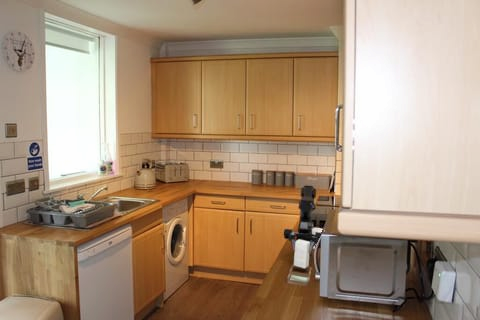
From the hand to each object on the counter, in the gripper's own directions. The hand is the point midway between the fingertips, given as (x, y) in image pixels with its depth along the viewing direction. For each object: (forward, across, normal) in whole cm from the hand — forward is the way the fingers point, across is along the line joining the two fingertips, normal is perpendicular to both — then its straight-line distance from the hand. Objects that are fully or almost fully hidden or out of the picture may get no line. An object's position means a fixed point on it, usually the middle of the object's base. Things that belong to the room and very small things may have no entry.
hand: (301, 252), depth 198 cm
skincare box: (+4, 0, +6) cm, 8 cm away
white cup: (-20, +6, +36) cm, 42 cm away
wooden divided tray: (+10, 0, +5) cm, 11 cm away
